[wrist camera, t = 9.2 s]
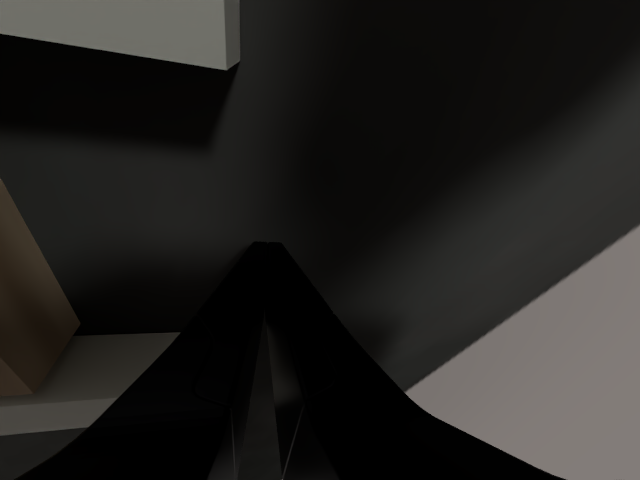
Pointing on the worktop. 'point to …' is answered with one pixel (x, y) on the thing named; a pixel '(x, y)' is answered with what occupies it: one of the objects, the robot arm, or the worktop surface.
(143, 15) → the canopy channel
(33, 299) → the tan wooden block
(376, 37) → the worktop surface
